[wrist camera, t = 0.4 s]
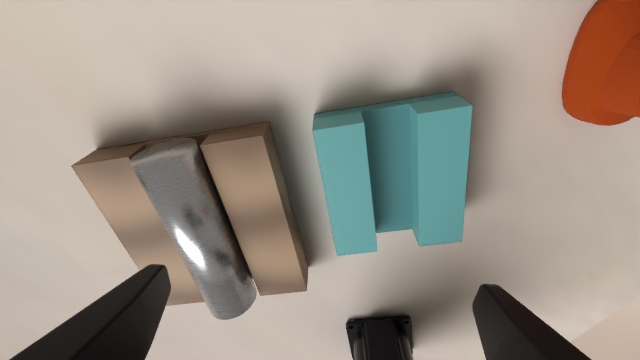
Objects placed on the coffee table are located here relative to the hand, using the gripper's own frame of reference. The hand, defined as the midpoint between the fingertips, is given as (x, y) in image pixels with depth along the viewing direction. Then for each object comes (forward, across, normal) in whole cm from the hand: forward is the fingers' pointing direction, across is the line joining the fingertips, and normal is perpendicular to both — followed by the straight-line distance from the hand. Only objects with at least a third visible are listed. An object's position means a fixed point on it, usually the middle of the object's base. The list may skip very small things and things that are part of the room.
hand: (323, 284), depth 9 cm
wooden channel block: (+14, +8, +8) cm, 18 cm away
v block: (+14, -5, +3) cm, 15 cm away
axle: (+11, +8, +8) cm, 16 cm away
